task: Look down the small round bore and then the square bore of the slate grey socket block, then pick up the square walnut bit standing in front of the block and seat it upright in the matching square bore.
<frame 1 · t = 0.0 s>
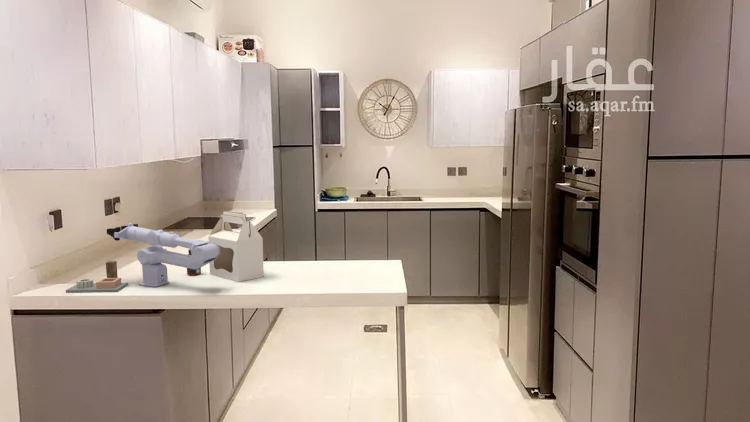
hand: (114, 229, 241), 22 cm above the table, tool horizontal, fingers open, 7 cm apart
socket block: (97, 288, 229), on the table
square bit: (112, 280, 244), on the table
gable box: (236, 276, 251), on the table
supplement bottle: (194, 274, 253), on the table
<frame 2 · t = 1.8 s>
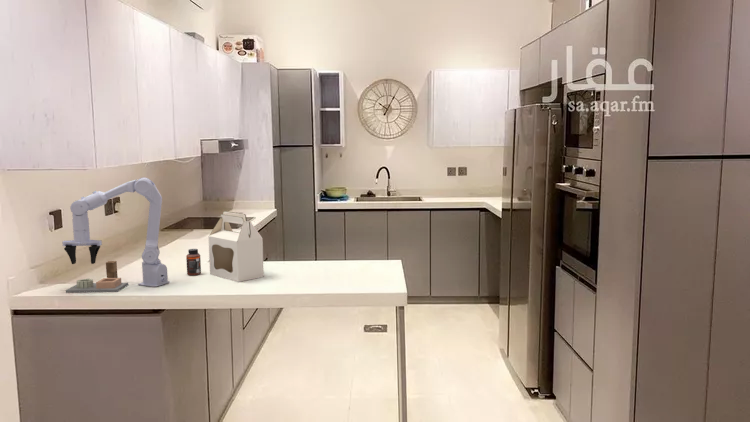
hand: (83, 263, 228), 10 cm above the table, tool pointing down, fingers open, 7 cm apart
nothing on the table moved.
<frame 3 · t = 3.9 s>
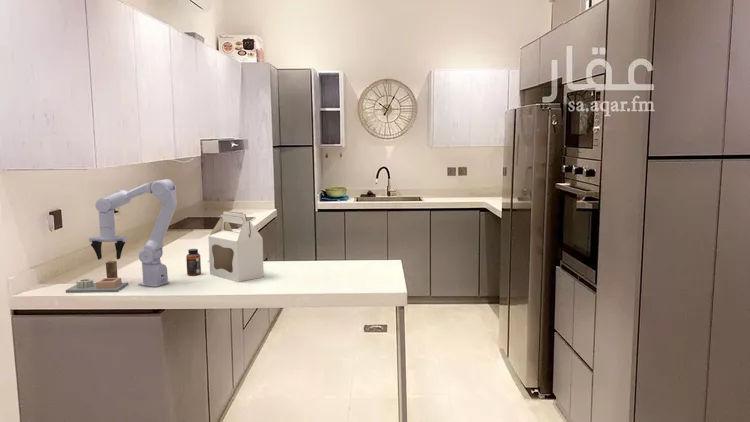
hand: (109, 258, 236), 10 cm above the table, tool pointing down, fingers open, 7 cm apart
nothing on the table moved.
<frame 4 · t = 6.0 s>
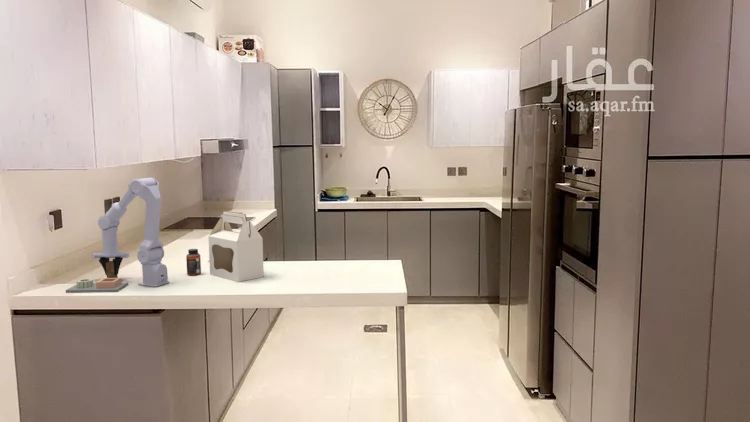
hand: (111, 274, 243), 2 cm above the table, tool pointing down, fingers closed on square bit, 3 cm apart
square bit: (112, 280, 244), on the table, touching gripper
everything else where it was.
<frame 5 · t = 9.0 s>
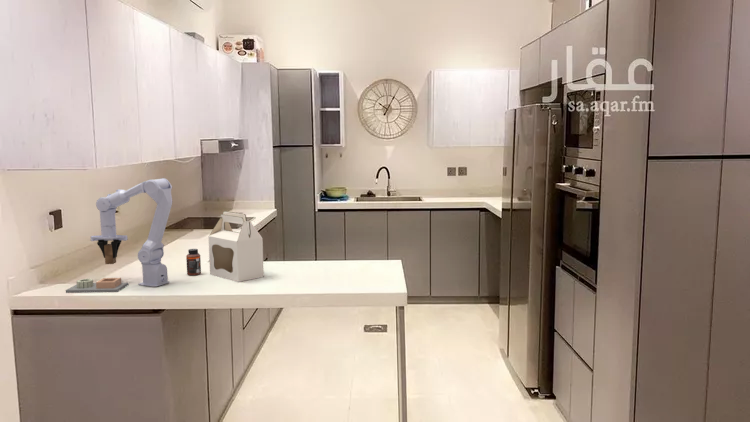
hand: (110, 257, 240), 10 cm above the table, tool pointing down, fingers closed on square bit, 3 cm apart
square bit: (110, 263, 240), point 8 cm above the table, touching gripper
everything else where it was.
when the fingers open (5 cm above the table, at t = 12.3 s): square bit drops 1 cm, resting on socket block.
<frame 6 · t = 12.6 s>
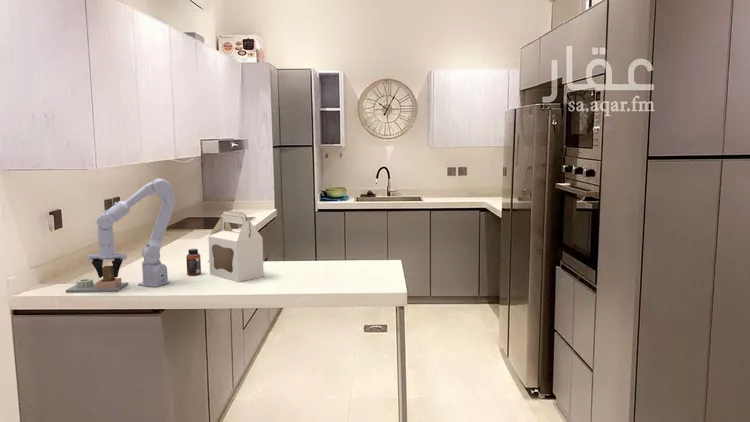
hand: (108, 277, 229), 5 cm above the table, tool pointing down, fingers open, 5 cm apart
square bit: (109, 285, 230), point 1 cm above the table, touching socket block
everything else where it was.
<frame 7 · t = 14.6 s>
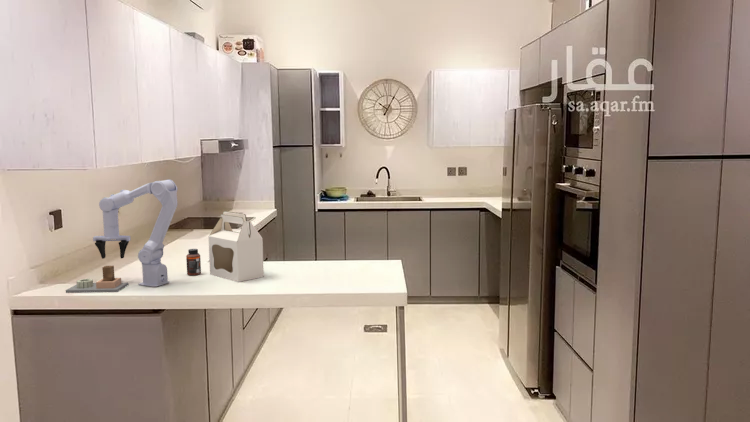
hand: (113, 258, 238), 10 cm above the table, tool pointing down, fingers open, 7 cm apart
nothing on the table moved.
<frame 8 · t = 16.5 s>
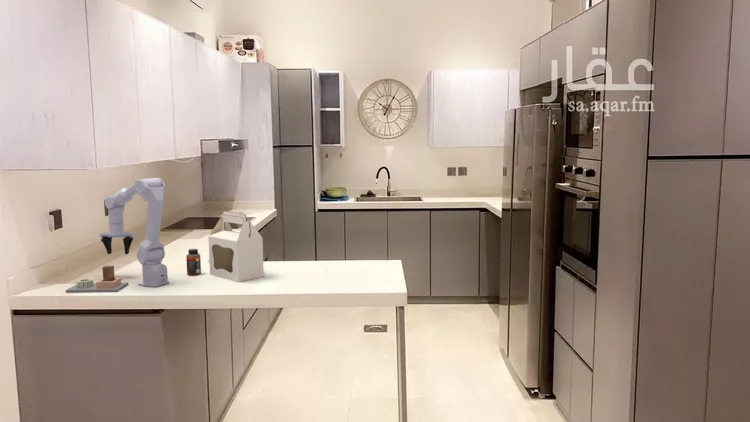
hand: (118, 253, 247), 10 cm above the table, tool pointing down, fingers open, 7 cm apart
nothing on the table moved.
at the end: square bit 0.3 cm from the target spot on the socket block, point 1.0 cm above the socket block's base; square bit tilted 0°; the gripper is holding nothing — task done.
